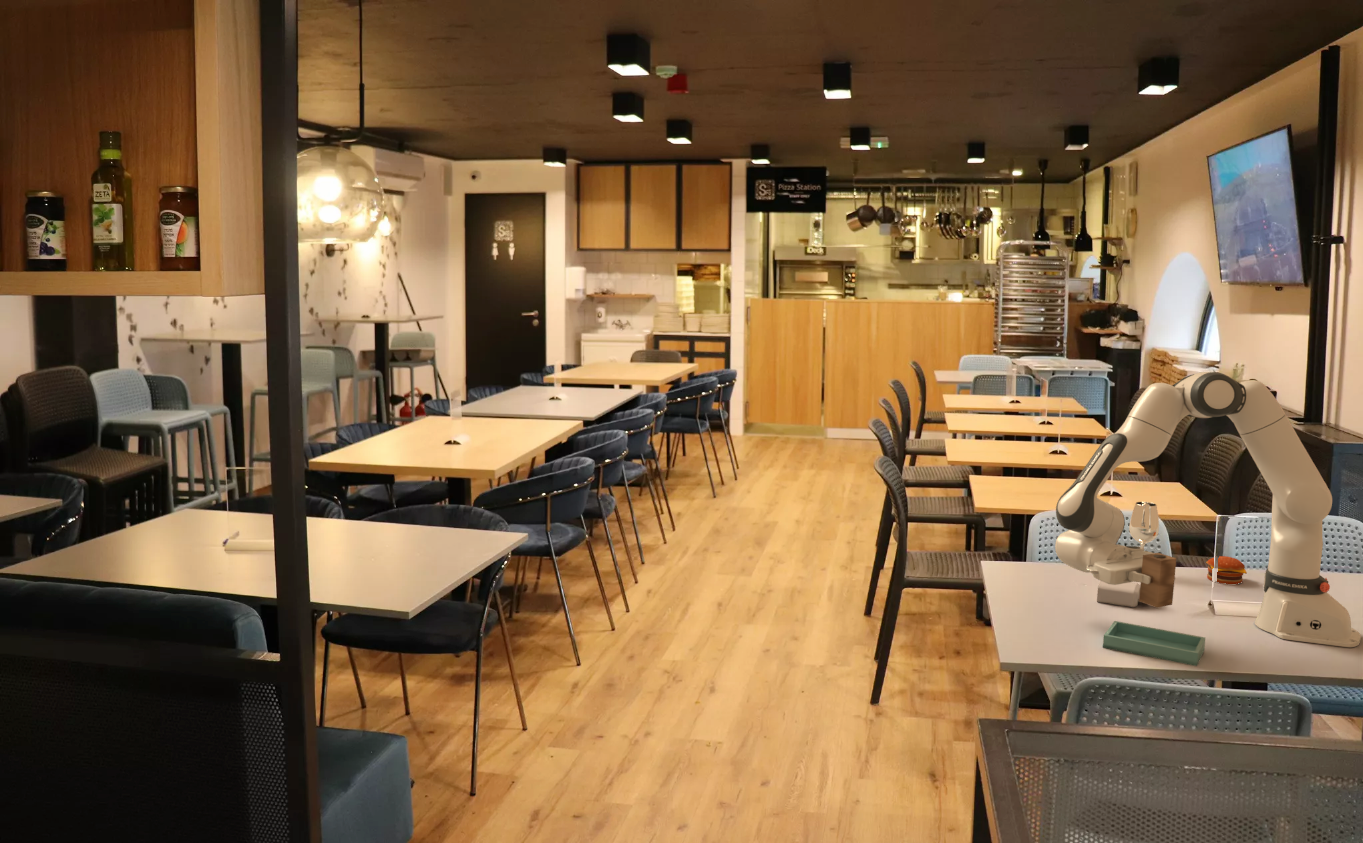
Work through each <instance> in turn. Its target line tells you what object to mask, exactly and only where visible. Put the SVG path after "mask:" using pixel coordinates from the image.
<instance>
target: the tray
mask: <svg viewBox="0 0 1363 843" xmlns="http://www.w3.org/2000/svg"><path fill="white" fill-rule="evenodd" d="M1205 645H1206V637H1203V636H1199V635H1192V634H1188V633H1184V632H1183V633H1181V632H1178V631H1172V630H1171V631H1170V630H1166V629H1161V628H1155V627H1150V626H1149V627H1148V626H1143V625H1139V624H1133V623H1129V622H1123V621H1118V620H1117V621H1116V620H1114V621H1113V622H1112V624H1111V625H1110V626H1109V627H1108V629H1107V630H1106V632H1105V633H1104V634H1103V641H1102V648H1103V649H1108V650H1113V651H1117V652H1118V651H1119V652H1123V653H1128V654H1133V655H1139V656H1142V657H1144V656H1145V657H1148V658H1153V659H1154V658H1155V659H1158V660H1164V661H1169V662H1175V663H1180V664H1185V665H1189V666H1194V667H1197V666H1198V665H1199V662H1200V660H1201V659H1202V657H1203V654H1204V652H1205V649H1206V648H1205V647H1206V646H1205Z"/></svg>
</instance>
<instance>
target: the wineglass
mask: <svg viewBox="0 0 1363 843" xmlns="http://www.w3.org/2000/svg"><path fill="white" fill-rule="evenodd" d="M1128 530H1129V534H1130V536H1131V537H1132V538H1133V540H1135V541H1136V542H1137V543H1139V546H1140V547H1142V548H1144V549H1145V545H1146V544H1149V543H1150V542H1153V541H1155V539H1156V538H1157V536H1158V535H1159V531H1160V520H1159V512H1158V505H1157V504H1156V503H1153V502H1149V501H1136V502H1135V503H1134V507H1133V510H1132V514H1131V516H1130V520H1129V527H1128Z"/></svg>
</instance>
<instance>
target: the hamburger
mask: <svg viewBox="0 0 1363 843" xmlns="http://www.w3.org/2000/svg"><path fill="white" fill-rule="evenodd" d="M1205 563H1206V564H1207V565H1208V566H1207V571H1208V572H1207V574H1206V578H1207V579H1208V580H1209V581H1211V582H1213V581H1212V569H1213V568H1214V557H1213V558H1212V557H1211V558H1210V559H1207V561H1206V562H1205ZM1245 568H1246V566H1245V564H1244V563H1243V562H1242V561H1240V560H1239V559H1237V558H1235V557H1232V556H1227V555H1226V556H1225V555H1222V556H1220V555H1219V558H1218V572H1217V582H1219V583H1218V584H1221V583H1226V584H1225V585H1228V584H1236V585H1239V584H1238V583H1241V582H1242V583H1243V580H1244V579H1243V576H1244V574H1245V575H1246V574H1247V573H1248V572H1247V570H1246V569H1245ZM1242 583H1241V584H1242Z"/></svg>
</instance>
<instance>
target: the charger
mask: <svg viewBox="0 0 1363 843" xmlns="http://www.w3.org/2000/svg"><path fill="white" fill-rule="evenodd" d="M1139 596H1140V583H1139V582H1129V583H1123V584H1117V585H1112V584H1107V583H1105V582H1103V581H1100V580H1099V583H1098V586H1097V594H1096V602H1097V603H1102V604H1109V605H1115V606H1121V607H1128V608H1136V607H1138V605H1139V603H1141V602H1140V601H1139Z"/></svg>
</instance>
